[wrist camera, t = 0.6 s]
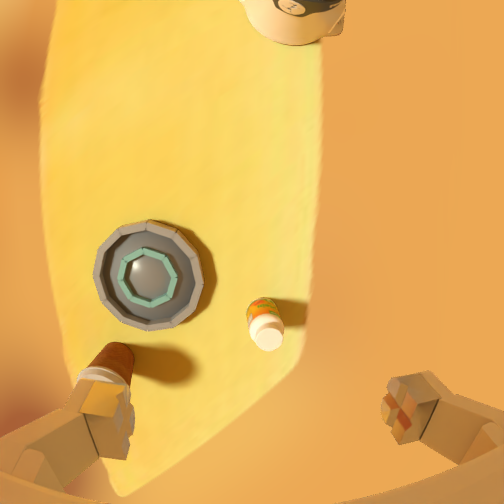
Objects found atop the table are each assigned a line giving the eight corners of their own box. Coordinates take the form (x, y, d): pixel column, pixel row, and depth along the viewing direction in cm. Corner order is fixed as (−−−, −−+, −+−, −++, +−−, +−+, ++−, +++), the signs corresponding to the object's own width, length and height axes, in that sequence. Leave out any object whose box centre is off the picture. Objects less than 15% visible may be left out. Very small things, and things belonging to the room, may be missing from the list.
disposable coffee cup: (149, 372, 57) (137, 414, 45) (107, 377, 56) (89, 416, 45) (132, 330, 54) (114, 369, 43) (88, 337, 54) (65, 373, 42)
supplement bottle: (280, 299, 55) (292, 326, 46) (273, 326, 56) (282, 357, 47) (249, 294, 54) (255, 321, 45) (243, 322, 55) (247, 352, 46)
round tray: (112, 206, 48) (107, 208, 46) (217, 242, 51) (217, 246, 49) (91, 303, 52) (86, 309, 50) (185, 336, 55) (184, 343, 53)
